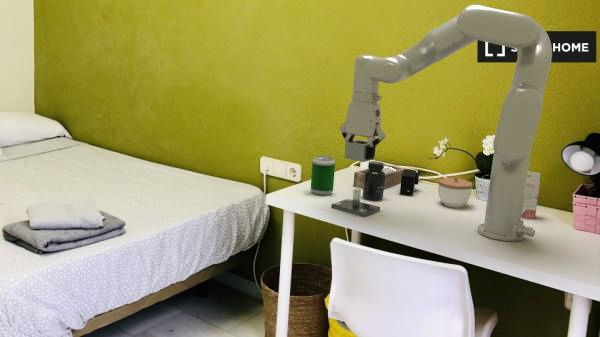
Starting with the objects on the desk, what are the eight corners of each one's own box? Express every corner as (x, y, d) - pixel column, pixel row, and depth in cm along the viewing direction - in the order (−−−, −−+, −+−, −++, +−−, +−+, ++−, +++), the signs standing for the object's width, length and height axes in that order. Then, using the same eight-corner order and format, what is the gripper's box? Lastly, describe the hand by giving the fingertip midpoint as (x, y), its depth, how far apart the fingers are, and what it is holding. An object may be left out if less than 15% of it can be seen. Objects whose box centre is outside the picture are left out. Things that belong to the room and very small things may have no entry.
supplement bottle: (382, 202, 195) (385, 166, 192) (361, 199, 196) (364, 164, 193) (383, 196, 201) (387, 161, 199) (363, 194, 203) (366, 159, 200)
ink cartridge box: (535, 215, 190) (542, 170, 187) (534, 219, 186) (541, 173, 182) (506, 211, 193) (513, 166, 190) (505, 215, 189) (512, 169, 185)
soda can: (333, 196, 198) (336, 161, 195) (310, 195, 198) (312, 159, 195) (332, 190, 205) (335, 156, 202) (310, 189, 205) (312, 154, 202)
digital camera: (415, 197, 203) (417, 177, 202) (399, 195, 205) (401, 175, 203) (417, 189, 213) (419, 170, 212) (402, 187, 214) (404, 168, 213)
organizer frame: (404, 181, 222) (406, 168, 221) (376, 191, 207) (377, 177, 206) (382, 176, 228) (383, 163, 227) (353, 186, 212) (354, 172, 211)
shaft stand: (379, 210, 185) (381, 191, 184) (364, 217, 178) (366, 197, 177) (347, 202, 192) (348, 183, 191) (331, 207, 185) (332, 188, 184)
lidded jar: (452, 198, 204) (455, 171, 202) (476, 207, 195) (480, 179, 193) (429, 202, 198) (432, 174, 196) (453, 211, 189) (457, 182, 187)
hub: (374, 159, 182) (376, 143, 181) (362, 162, 177) (364, 145, 176) (356, 155, 186) (357, 139, 185) (344, 158, 181) (345, 141, 180)
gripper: (397, 100, 175) (391, 160, 179) (347, 93, 185) (342, 150, 190) (383, 102, 169) (378, 164, 174) (333, 94, 179) (328, 153, 184)
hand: (359, 156), depth 181 cm, fingers closed on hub, 6 cm apart
